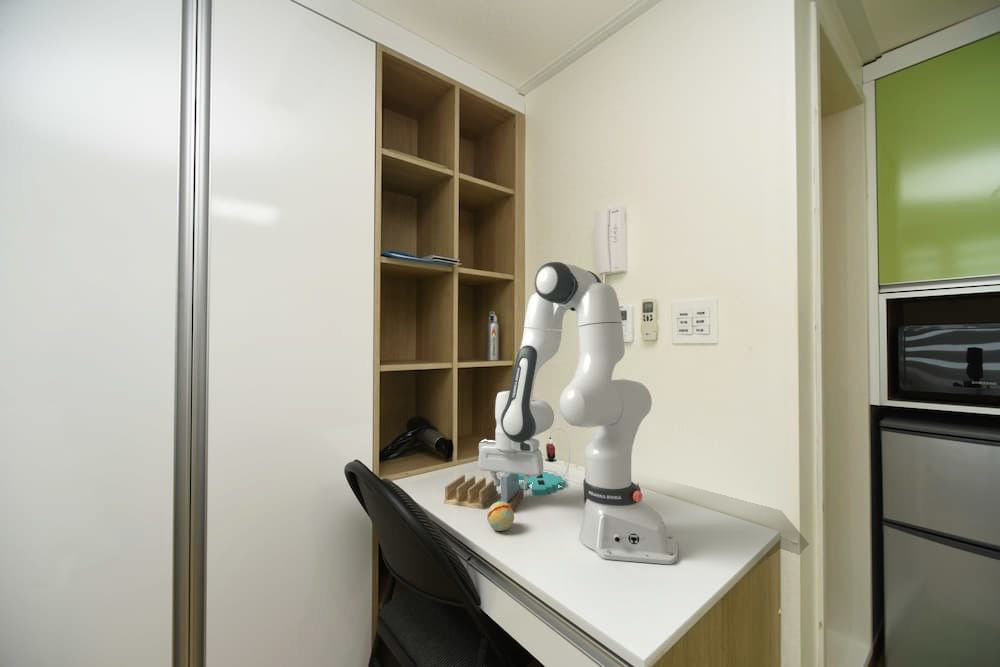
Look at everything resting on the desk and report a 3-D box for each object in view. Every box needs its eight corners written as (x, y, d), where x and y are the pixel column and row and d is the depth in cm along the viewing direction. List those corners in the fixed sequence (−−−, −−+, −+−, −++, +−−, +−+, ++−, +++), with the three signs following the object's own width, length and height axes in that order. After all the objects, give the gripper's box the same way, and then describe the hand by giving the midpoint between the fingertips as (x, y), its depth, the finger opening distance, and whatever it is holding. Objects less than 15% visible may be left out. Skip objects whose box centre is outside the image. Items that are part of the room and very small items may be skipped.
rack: (497, 494, 124) (497, 478, 124) (482, 509, 112) (482, 491, 113) (461, 489, 128) (461, 474, 129) (444, 503, 117) (444, 486, 117)
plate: (518, 498, 121) (518, 466, 121) (507, 512, 110) (506, 477, 111) (513, 497, 121) (513, 465, 122) (501, 511, 111) (500, 476, 111)
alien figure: (505, 496, 123) (567, 496, 123) (504, 489, 123) (567, 489, 123) (505, 476, 143) (558, 476, 143) (505, 470, 143) (558, 470, 143)
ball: (486, 524, 103) (486, 497, 103) (512, 522, 104) (511, 496, 104) (488, 537, 96) (488, 508, 96) (516, 535, 97) (515, 507, 97)
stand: (523, 498, 121) (523, 490, 121) (511, 513, 109) (510, 504, 109) (509, 496, 122) (509, 488, 122) (496, 511, 111) (496, 502, 111)
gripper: (474, 441, 117) (474, 486, 117) (539, 446, 110) (539, 495, 109) (482, 436, 123) (483, 480, 123) (544, 441, 116) (545, 487, 115)
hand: (510, 487), depth 116 cm, fingers open, 7 cm apart
